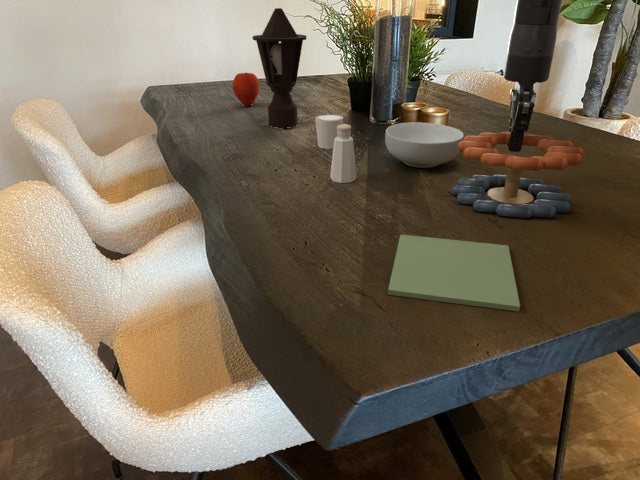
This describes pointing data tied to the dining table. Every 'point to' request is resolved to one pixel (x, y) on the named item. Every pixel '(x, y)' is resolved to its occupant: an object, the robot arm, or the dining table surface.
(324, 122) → the white sugar pot
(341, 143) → the pepper shaker
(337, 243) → the dining table surface
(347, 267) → the dining table surface
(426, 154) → the cereal bowl
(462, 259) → the mat
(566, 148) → the top ring
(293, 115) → the lantern
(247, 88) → the apple
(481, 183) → the bottom ring
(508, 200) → the ring stand
